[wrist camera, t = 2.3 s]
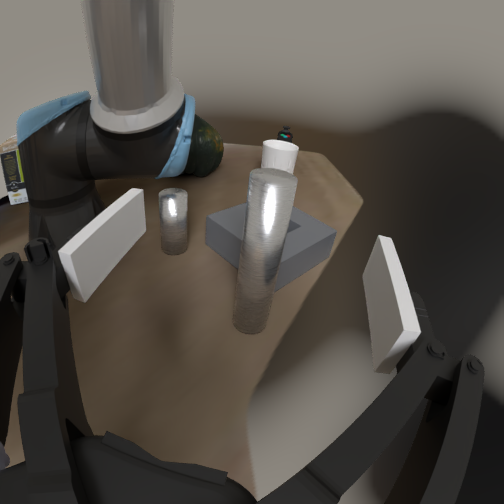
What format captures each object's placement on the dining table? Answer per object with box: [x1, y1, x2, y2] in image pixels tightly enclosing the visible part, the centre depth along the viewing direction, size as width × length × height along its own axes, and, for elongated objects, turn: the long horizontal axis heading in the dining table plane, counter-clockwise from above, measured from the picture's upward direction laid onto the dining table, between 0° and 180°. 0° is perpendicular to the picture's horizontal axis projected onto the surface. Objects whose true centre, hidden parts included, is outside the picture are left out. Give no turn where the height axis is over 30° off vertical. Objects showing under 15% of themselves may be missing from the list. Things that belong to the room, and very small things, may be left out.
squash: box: [181, 114, 224, 177], centre depth 67 cm, size 14×15×15 cm
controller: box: [277, 126, 293, 143], centre depth 80 cm, size 4×12×10 cm, turn 173°
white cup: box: [261, 140, 299, 174], centre depth 65 cm, size 8×8×10 cm
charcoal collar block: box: [206, 203, 337, 292], centre depth 46 cm, size 14×14×5 cm
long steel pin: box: [233, 168, 298, 334], centre depth 30 cm, size 4×4×18 cm
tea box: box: [0, 134, 29, 205], centre depth 51 cm, size 15×10×15 cm, turn 110°
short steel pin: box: [159, 188, 187, 255], centre depth 42 cm, size 4×4×9 cm
